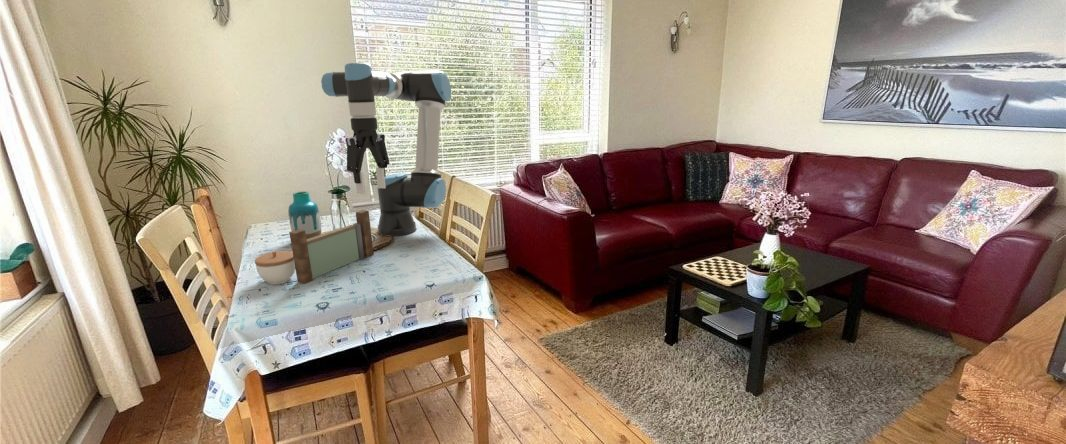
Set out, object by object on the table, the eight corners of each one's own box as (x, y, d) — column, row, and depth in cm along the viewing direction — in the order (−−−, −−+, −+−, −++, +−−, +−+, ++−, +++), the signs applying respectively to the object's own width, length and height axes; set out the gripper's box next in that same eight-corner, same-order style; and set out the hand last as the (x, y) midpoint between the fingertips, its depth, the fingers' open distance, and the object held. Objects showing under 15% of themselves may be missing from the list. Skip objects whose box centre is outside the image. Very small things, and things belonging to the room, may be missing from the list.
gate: (360, 255, 161) (356, 222, 158) (365, 256, 160) (361, 223, 157) (308, 277, 143) (302, 240, 139) (313, 278, 142) (307, 241, 138)
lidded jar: (282, 289, 135) (276, 259, 133) (250, 286, 138) (244, 256, 135) (306, 275, 146) (301, 246, 143) (276, 272, 148) (271, 245, 145)
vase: (299, 247, 171) (291, 197, 166) (288, 241, 178) (280, 193, 173) (328, 240, 178) (320, 192, 173) (316, 235, 185) (309, 188, 180)
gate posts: (367, 253, 164) (362, 209, 159) (373, 254, 163) (368, 210, 158) (297, 282, 140) (289, 232, 136) (304, 283, 139) (296, 233, 134)
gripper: (379, 114, 150) (386, 183, 156) (326, 119, 132) (336, 196, 139) (397, 115, 147) (403, 185, 153) (344, 119, 129) (354, 198, 135)
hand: (371, 190), depth 146 cm, fingers open, 8 cm apart
